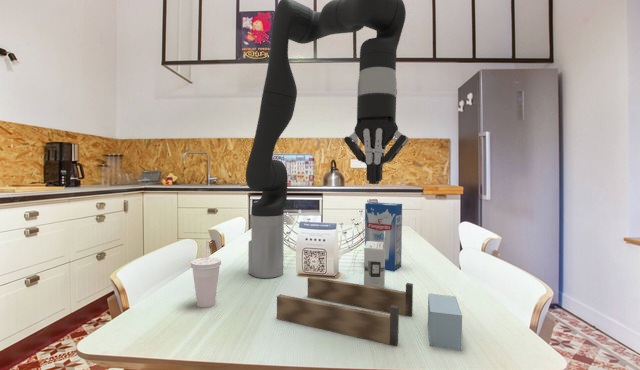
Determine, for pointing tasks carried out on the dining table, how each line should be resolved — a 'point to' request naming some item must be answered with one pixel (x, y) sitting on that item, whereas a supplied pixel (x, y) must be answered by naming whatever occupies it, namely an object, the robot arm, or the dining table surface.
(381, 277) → the ink box
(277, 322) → the dining table surface
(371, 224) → the milk carton
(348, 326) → the chute
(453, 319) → the slate block
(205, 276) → the smoothie
